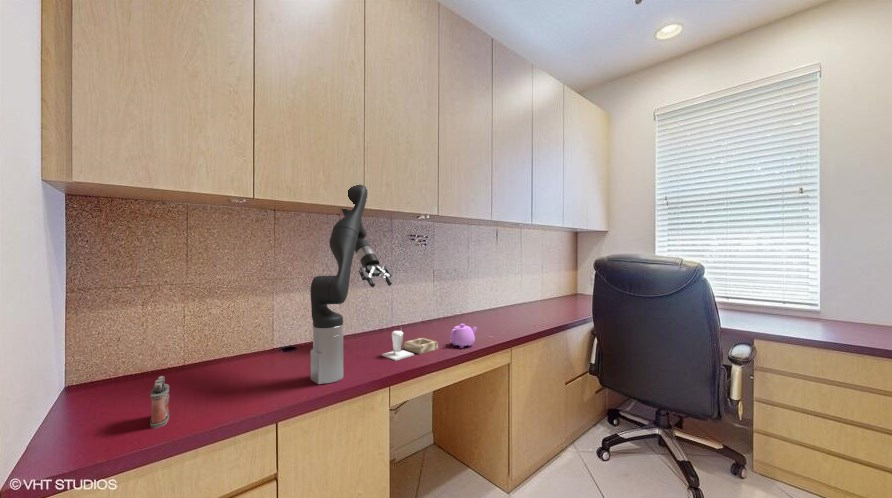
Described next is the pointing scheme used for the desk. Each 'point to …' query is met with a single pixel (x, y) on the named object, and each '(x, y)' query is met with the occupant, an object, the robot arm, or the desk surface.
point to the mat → (397, 357)
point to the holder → (421, 345)
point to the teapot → (463, 335)
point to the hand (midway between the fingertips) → (382, 285)
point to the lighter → (159, 403)
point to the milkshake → (397, 342)
